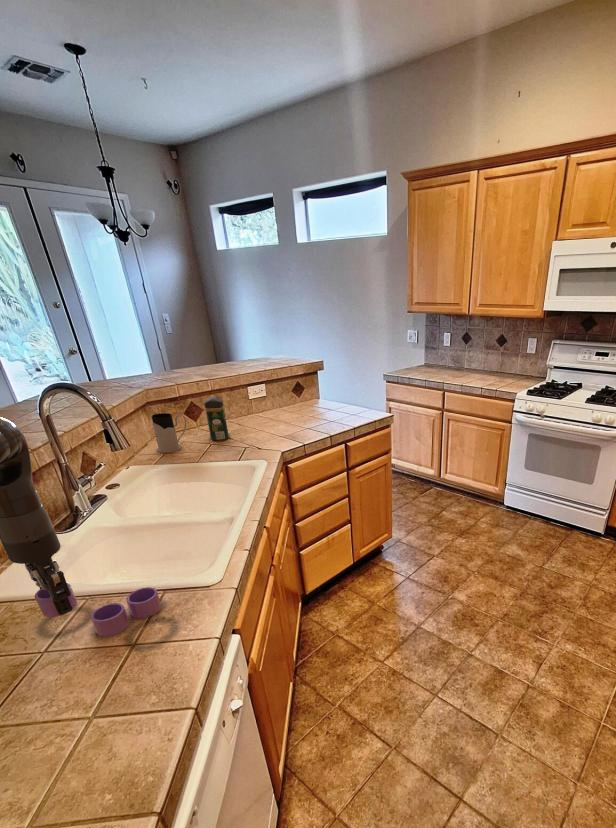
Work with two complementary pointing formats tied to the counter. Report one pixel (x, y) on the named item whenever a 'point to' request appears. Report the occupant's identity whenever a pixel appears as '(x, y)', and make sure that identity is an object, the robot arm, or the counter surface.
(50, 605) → the purple short hollow cylinder
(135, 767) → the counter surface
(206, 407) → the coffee jar
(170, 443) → the grey mug
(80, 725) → the counter surface
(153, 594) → the dish far
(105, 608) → the dish middle
